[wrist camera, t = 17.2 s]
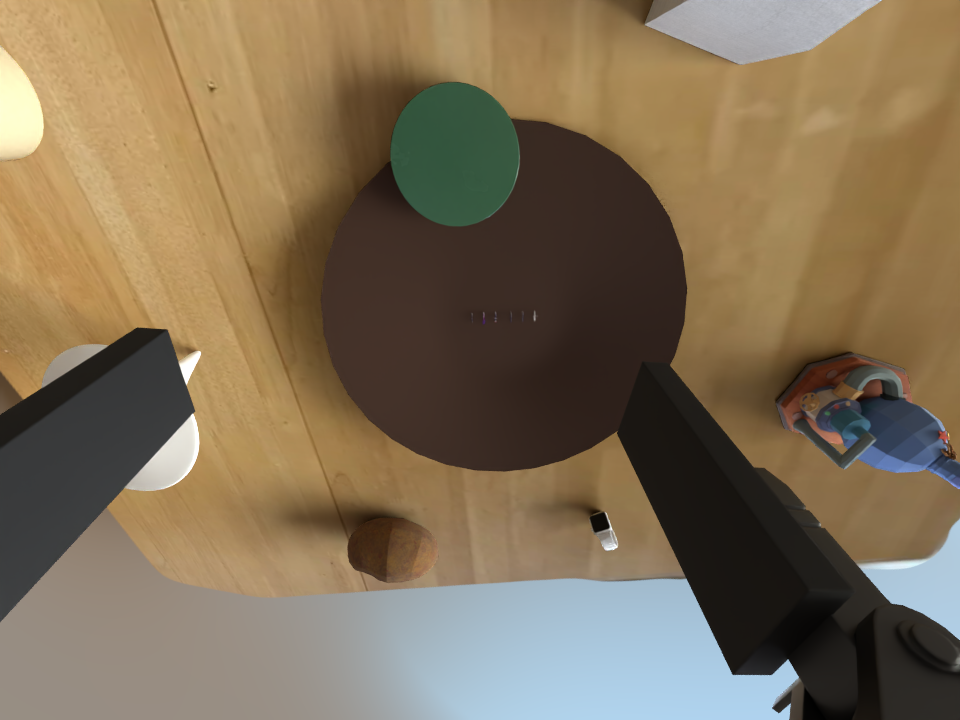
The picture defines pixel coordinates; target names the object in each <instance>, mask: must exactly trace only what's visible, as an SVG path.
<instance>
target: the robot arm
mask: <svg viewBox="0 0 960 720" xmlns="http://www.w3.org/2000/svg"><path fill="white" fill-rule="evenodd" d="M194 412H195V409H194V406H193V403H192V400H191V398H190V395H189V392H188V389H187V386H186V383H185V380H184V377H183V374H182V371H181V368H180V365H179V362H178V359H177V356H176V353H175V350H174V347H173V344H172V341H171V338H170V335H169V333H168V330H166V329H151V328H136V329H134V330H133V331H131V332H129V333H128V334H126V335H125V336H123V337H122V338H120V339H118V340H117V341H115V342H114V343H112V344H111V345H109V346H107V347H106V348H104V349H103V350H101V351H100V352H98V353H96V354H95V355H93V356H92V357H90V358H89V359H87V360H85V361H84V362H82V363H81V364H79V365H78V366H76V367H74V368H73V369H71V370H70V371H68V372H67V373H65V374H63V375H62V376H60V377H59V378H57V379H56V380H54V381H52V382H51V383H49V384H48V385H46V386H45V387H43V388H41V389H40V390H38V391H37V392H35V393H34V394H32V395H30V396H29V397H27V398H26V399H24V400H23V401H21V402H20V403H18V404H17V405H15V406H13V407H12V408H10V409H8V410H7V411H5V412H4V413H2V414H1V415H0V622H1V621H2V620H3V618H4V617H5V616H6V615H7V614H8V613H9V612H10V611H11V610H12V609H13V608H14V607H15V606H16V604H17V603H18V602H19V601H20V600H21V599H22V598H23V597H24V596H25V595H26V594H27V593H28V591H29V590H30V589H31V588H32V587H33V586H34V585H35V584H36V583H37V582H38V581H39V580H40V578H41V577H42V576H43V575H44V574H45V573H46V572H47V571H48V570H49V569H50V568H51V567H52V565H53V564H54V563H55V562H56V561H57V560H58V559H59V558H60V557H61V556H62V555H63V554H64V552H65V551H66V550H67V549H68V548H69V547H70V546H71V545H72V544H73V543H74V542H75V541H76V540H77V538H78V537H79V536H80V535H81V534H82V533H83V532H84V531H85V530H86V529H87V527H89V525H90V524H91V523H92V522H93V521H94V520H95V519H96V518H97V517H98V516H99V515H100V514H101V512H102V511H103V510H104V509H105V508H106V507H107V506H108V505H109V504H110V503H111V502H112V501H113V500H114V498H115V497H116V496H117V495H118V494H119V493H120V492H121V491H122V490H123V489H124V488H125V487H126V485H127V484H128V483H129V482H130V481H131V480H132V479H133V478H134V477H135V476H136V475H137V474H138V472H139V471H140V470H141V469H142V468H143V467H144V466H145V465H146V464H147V463H148V462H149V461H150V460H151V458H152V457H153V456H154V455H155V454H156V453H157V452H158V451H159V450H160V449H161V448H162V447H163V445H164V444H165V443H166V442H167V441H168V440H169V439H170V438H171V437H172V436H173V435H174V434H175V432H176V431H177V430H178V429H179V428H180V427H181V426H182V425H183V424H184V423H185V422H186V421H187V419H188V418H189V417H190V416H191V415H192V414H193V413H194ZM617 434H618V437H619V439H620V441H621V443H622V445H623V447H624V449H625V451H626V453H627V455H628V457H629V460H630V462H631V464H632V466H633V468H634V470H635V472H636V474H637V476H638V478H639V480H640V482H641V485H642V487H643V489H644V491H645V493H646V495H647V497H648V499H649V501H650V503H651V505H652V507H653V510H654V512H655V514H656V516H657V518H658V520H659V522H660V524H661V526H662V528H663V530H664V533H665V535H666V537H667V539H668V541H669V543H670V545H671V547H672V549H673V551H674V553H675V555H676V558H677V560H678V562H679V564H680V566H681V568H682V570H683V572H684V574H685V576H686V578H687V581H688V583H689V585H690V587H691V589H692V591H693V593H694V595H695V597H696V599H697V601H698V603H699V605H700V608H701V609H702V612H703V614H704V616H705V618H706V620H707V622H708V624H709V626H710V628H711V630H712V633H713V635H714V637H715V639H716V641H717V643H718V645H719V647H720V649H721V651H722V654H723V656H724V658H725V660H726V662H727V664H728V666H729V668H730V670H731V672H732V674H733V675H772V674H773V673H774V672H775V671H776V670H777V669H778V668H779V667H780V666H781V665H782V664H784V662H786V661H787V659H789V661H790V663H791V664H792V666H793V668H794V670H795V671H796V673H797V675H798V676H799V678H798V679H797V680H796V681H795V682H794V683H793V684H792V685H791V686H789V687H788V688H787V689H786V690H785V691H784V692H783V693H782V694H781V695H780V696H778V697H777V698H776V700H775V703H774V705H773V707H772V709H774V710H775V711H776V712H778V713H780V712H781V711H782V710H783V709H784V708H785V707H787V706H788V705H789V704H790V703H791V708H790V719H789V720H960V640H959V639H957V638H956V637H955V636H954V635H953V634H952V633H950V632H949V631H948V630H947V629H946V628H944V627H943V626H941V625H940V624H938V623H937V622H935V621H933V620H932V619H930V618H928V617H927V616H925V615H924V614H922V613H920V612H917V611H915V610H913V609H910V608H908V607H905V606H903V605H897V604H891V603H890V602H889V601H888V600H887V599H886V598H885V597H884V595H883V594H882V593H881V592H880V591H879V590H878V589H877V588H876V586H875V585H874V584H873V583H872V582H871V581H870V579H869V578H868V577H867V576H866V575H865V574H864V573H863V571H862V570H861V569H860V568H859V567H858V566H857V565H856V563H855V562H854V561H853V560H852V559H851V558H850V557H849V555H848V554H847V553H846V552H845V551H844V550H843V549H842V547H841V546H840V545H839V544H838V543H837V542H836V541H835V539H834V538H833V537H832V536H831V535H830V534H829V533H828V531H827V530H826V529H825V528H821V526H820V524H821V523H820V522H819V521H818V520H817V519H816V518H815V517H814V515H813V514H812V513H811V512H810V511H809V510H806V509H805V507H806V506H805V505H804V504H803V503H802V502H801V501H800V499H799V498H798V497H797V496H796V495H795V494H794V493H793V491H792V490H791V489H790V488H789V487H788V486H787V485H786V484H785V483H783V482H782V481H781V480H779V479H778V478H777V477H775V476H774V475H773V474H771V473H770V472H769V471H767V470H766V469H765V468H754V467H753V466H752V465H751V464H750V462H749V461H748V460H747V459H746V457H745V456H744V455H743V454H742V453H741V451H740V450H739V449H738V448H737V447H736V445H735V444H734V443H733V442H732V440H731V439H730V438H729V437H728V436H727V434H726V433H725V432H724V431H723V430H722V428H721V427H720V426H719V425H718V423H717V422H716V421H715V420H714V419H713V417H712V416H711V415H710V414H709V413H708V411H707V410H706V409H705V408H704V406H703V405H702V404H701V403H700V402H699V400H698V399H697V398H696V397H695V396H694V394H693V393H692V392H691V391H690V390H689V388H688V387H687V386H686V385H685V383H684V382H683V381H682V380H681V379H680V377H679V376H678V375H677V374H676V373H675V371H674V370H673V369H672V368H671V366H670V365H669V364H668V363H661V362H646V361H642V364H641V366H640V369H639V372H638V375H637V378H636V381H635V384H634V386H633V389H632V392H631V395H630V398H629V401H628V404H627V406H626V409H625V412H624V415H623V418H622V421H621V424H620V426H619V429H618V432H617Z"/></svg>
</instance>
